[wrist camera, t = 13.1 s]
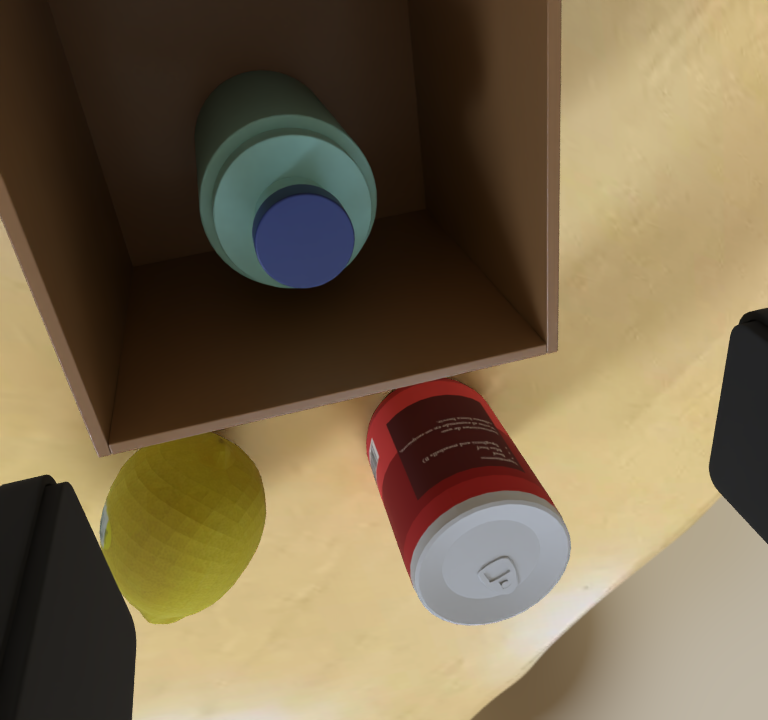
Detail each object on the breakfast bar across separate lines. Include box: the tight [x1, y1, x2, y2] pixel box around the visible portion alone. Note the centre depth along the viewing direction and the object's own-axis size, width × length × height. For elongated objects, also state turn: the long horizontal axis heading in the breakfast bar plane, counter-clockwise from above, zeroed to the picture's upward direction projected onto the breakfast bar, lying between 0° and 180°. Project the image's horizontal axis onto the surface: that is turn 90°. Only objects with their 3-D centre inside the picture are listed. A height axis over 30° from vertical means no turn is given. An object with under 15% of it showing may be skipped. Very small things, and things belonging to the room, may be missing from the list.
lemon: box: [100, 432, 266, 624], centre depth 37 cm, size 11×8×8 cm
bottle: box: [195, 70, 377, 288], centre depth 27 cm, size 6×6×12 cm
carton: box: [0, 0, 561, 457], centre depth 26 cm, size 14×15×14 cm
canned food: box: [366, 378, 571, 625], centre depth 38 cm, size 8×8×11 cm
